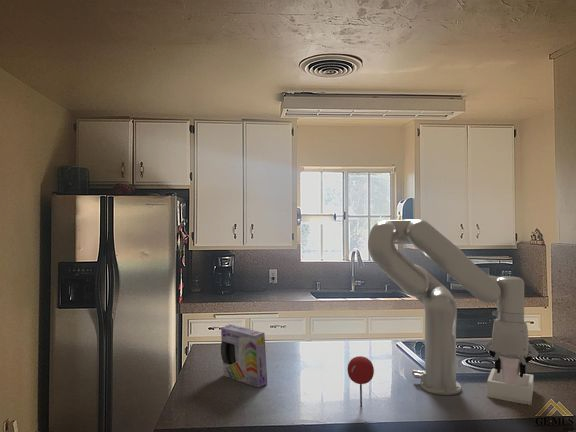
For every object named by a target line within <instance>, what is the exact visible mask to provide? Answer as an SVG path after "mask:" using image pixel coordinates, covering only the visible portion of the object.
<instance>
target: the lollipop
mask: <svg viewBox="0 0 576 432" xmlns="http://www.w3.org/2000/svg"><path fill="white" fill-rule="evenodd" d="M347 374H348V375H347V376H348V378H349V379H350V380H351V381H352V382H353V383H355V384H356V385H357V384H358V385H359V396H360V397H359V402H360V405H359V408H360V407H362V408H363V392H362V391H363V389H362V388H363V386H362V385H366V384H368V383H369V382H371V381H372V379H373V377H374V376H375V375H374V374H375V368H374V364H373V363H372V361H371V360H370V359H369V358H368V357H366V356H363V355H362V356H358V355H357V356H355V357H353V358H351V359H350V360H349V362H348V364H347Z"/></svg>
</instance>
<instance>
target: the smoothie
mask: <svg viewBox="0 0 576 432" xmlns="http://www.w3.org/2000/svg"><path fill="white" fill-rule="evenodd" d="M499 358H500V362H501V370H502V377H503V382H504V383H510V384H515V385H517V381H518V374H519V373H520V363H521V360H520V357H519V356H516V355H509V354H502V353H501V354H500V356H499Z"/></svg>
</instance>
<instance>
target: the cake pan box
mask: <svg viewBox="0 0 576 432" xmlns="http://www.w3.org/2000/svg"><path fill="white" fill-rule="evenodd" d="M220 335H221V336H220V337H221V343H220V355H221V360H222V371H223V376H224V377H228V378H230V379H232V380H235V381H239V382H241V383H244V384H248V385H250V386H252V387H256V388H261V387H264V386H266V385H268V373H267V370H268V369H267V355H266V354H267V352H266V337H265V335H266V333H265V332H262V331H258V330H254V329H251V328H247V327H242V326H237V325H233V324H227V325H225V326H222V327H220Z"/></svg>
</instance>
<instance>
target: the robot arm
mask: <svg viewBox="0 0 576 432" xmlns="http://www.w3.org/2000/svg"><path fill="white" fill-rule="evenodd" d="M411 244H412V245H413V246H414V247H415V248H416V249H418V251H420V252H421V253H422V254H423V255H425V257H427V258H429V260H431V261H432V262H433V263H434V264H435V265H436V266H437V267H439V268H440V269H441V270H442V271H443V272H445V273H446V274H447V275H448V276H450V277H451V278H453V280H455V281H456V283H458V284H459V285H460V286H462V287H463V288H464V289H465V290H466V291H467V292H469V293H470V295H472V296H474V298H476V299H477V300H478V301H480V302H481V303H483V304H493V303H495V302H496V303H497V306H496V310H492V312H491V315H492V316H495V319H494V320H493V326H492V336H491V339H490V340H488V342H486V343H485V344H484V345H483V348H484V350H486V351H487V352H488V353H489V355H490V356H491V357H492V358H493V360H494V369H496V370H497V373H500V371H501V362H500V358H499V356H500V354H501V353H502V354H509V355H516V356H519V357H520V360H521V361H520V367H519V373H520V377H522V378H523V374H527V373H526V367H527V364H528V363H529V362H530V361H532V360H533V359H534V358H536V357H538V356H539V352H538V351H537V349H535V347H533V345H532V344H531V343H529V342H530V341H529V340H530V339H529V330H528V324H527V322H526V321H525V281H524V279H523V278H521V277H518V276H513V275H512V276H509V275H504V276H496V275H490V274H487V273H486V272H485V271H483V269H481V267H479V266H478V265H476V264H475V262H473V261H472V260H471V259H470V258H469V257H468V256H467V255H466V254H465V252H463V251H462V250H461V249H460V248H459V247H458V246H457V245H456V244H454V242H452V241H451V240H450V239H448V238H447V237H446V236H445V235H443V234H442V233H441V232H440V231H438V229H436V228H435V227H434V225H432V224H431V223H429V222H428V221H426V220H424V219H421V218H420V219H419V218H416V219H388V220H387V219H384V220H380V221H378V222H377V223H375V224H374V225H373V226H372V227H371V229H370V232H369V236H368V240H367V248H368V253H369V256H370V258H371V259H372V261H373V262H374V265H376V266H377V267H378V268H379V269H380V270H381V271H382V272H383V273H384V274H386V276H387V277H388V278H390V280H392V281H393V283H395V284H396V285H397V286H398V287H399V288H400V289H401V290H402V291H403V292H404V293H405V294H407V295H408V296H411V297H415V298H416V299H417V300H418V301H419V302H420V303H422V305H424V370H419V369H412V371H411V374H412V376H413V378H414V379H421V380H420V382H419V384H420V387H421V389H422V390H424V391H426V392H428V393H431V394H434V395H440V396H452V395H454V396H455V395H457V394H460V393H461V391H462V385H461V384H460V383H459V382H458V381H457V336H456V335H457V318H458V317H457V316H458V309H457V302H456V300H455V298H454V295H453V294H452V293H451V291H450V290H449V289H448V288H447V287H446V286H445V285H444V284H442V283H441V282H440V281H439V280H438V279H437V278H435V276H433V275H432V274H431V273H430V272H429V271H427V269H425V268H424V267H422V266H421V265H419V264H415V263H413V262H411V261H410V260H409V259H408V258H407V257H406V255H404V254H403V253H401V252H400V251H399V250H398V249H397V247H396V245H411ZM529 352H530V354H529ZM528 354H529V355H528Z"/></svg>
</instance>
